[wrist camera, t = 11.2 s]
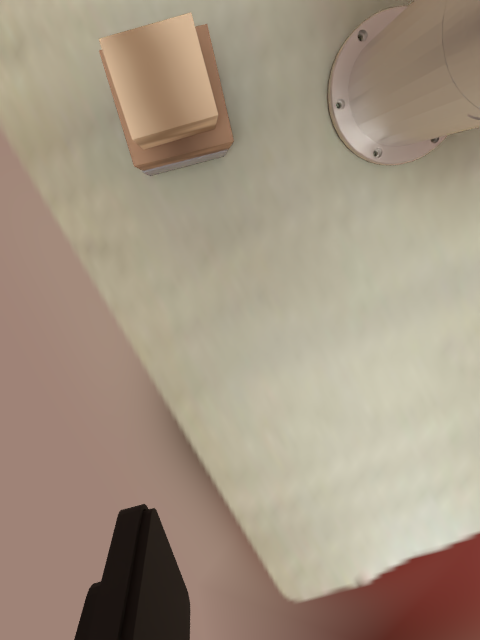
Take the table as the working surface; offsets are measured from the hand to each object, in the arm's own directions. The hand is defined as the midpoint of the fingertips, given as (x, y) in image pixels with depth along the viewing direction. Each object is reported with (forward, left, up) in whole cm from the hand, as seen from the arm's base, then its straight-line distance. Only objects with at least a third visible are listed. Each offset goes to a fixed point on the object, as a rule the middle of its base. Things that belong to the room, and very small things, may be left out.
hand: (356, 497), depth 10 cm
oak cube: (+2, -14, -22) cm, 26 cm away
